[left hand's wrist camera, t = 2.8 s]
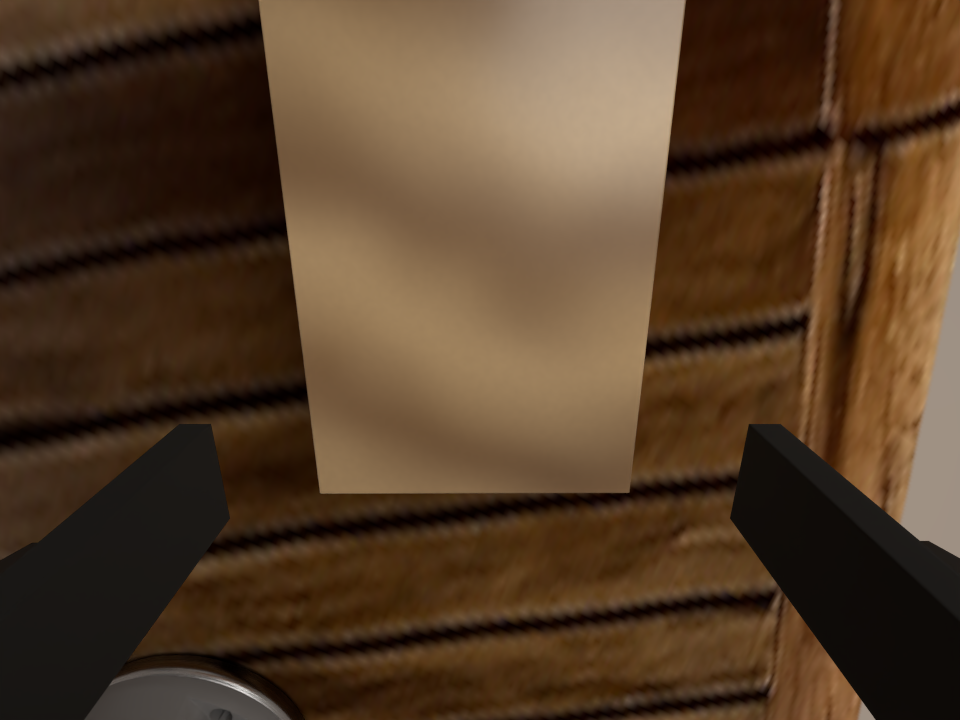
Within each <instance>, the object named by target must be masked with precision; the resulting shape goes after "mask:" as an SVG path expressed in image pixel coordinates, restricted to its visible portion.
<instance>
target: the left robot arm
mask: <svg viewBox="0 0 960 720" xmlns="http://www.w3.org/2000/svg"><path fill="white" fill-rule="evenodd" d="M229 519H230V517H229V512H228V507H227V502H226V497H225V492H224V487H223V482H222V477H221V472H220V467H219V462H218V457H217V452H216V447H215V442H214V437H213V432H212V427H211V424H179V425H178V426H177V427H176V428H174V429H173V430H172V431H171V432H170V433H168V434H167V435H166V436H165V437H164V438H162V439H161V440H160V441H159V442H158V443H156V444H155V445H154V446H153V447H152V448H151V449H149V450H148V451H147V452H146V453H145V454H143V455H142V456H141V457H140V458H139V459H137V460H136V461H135V462H134V463H133V464H131V465H130V466H129V467H128V468H127V469H125V470H124V471H123V472H122V473H121V474H119V475H118V476H117V477H116V478H115V479H114V480H112V481H111V482H110V483H109V484H108V485H106V486H105V487H104V488H103V489H102V490H100V491H99V492H98V493H97V494H96V495H94V496H93V497H92V498H91V499H90V500H88V501H87V502H86V503H85V504H84V505H83V506H81V507H80V508H79V509H78V510H77V511H75V512H74V513H73V514H72V515H71V516H69V517H68V518H67V519H66V520H65V521H63V522H62V523H61V524H60V525H59V526H57V527H56V528H55V529H54V530H53V531H51V532H50V533H49V534H48V535H47V536H46V537H44V538H43V539H42V540H41V541H40V542H38V543H31V544H29V545H27V546H26V547H24V548H22V549H20V550H18V551H17V552H15V553H13V554H11V555H9V556H8V557H6V558H4V559H2V560H0V720H304V718H303V716H302V715H301V713H300V712H299V710H298V709H297V707H296V706H295V705H294V704H293V702H292V701H291V700H290V699H289V698H288V697H287V696H286V695H285V694H284V693H283V692H282V691H280V690H279V689H278V688H277V687H275V686H274V685H273V684H271V683H270V682H268V681H267V680H265V679H264V678H262V677H260V676H258V675H257V674H255V673H253V672H251V671H248V670H246V669H244V668H242V667H239V666H236V665H233V664H230V663H227V662H224V661H220V660H216V659H212V658H206V657H200V656H191V655H162V656H154V657H149V658H144V659H140V660H136V661H133V662H130V663H128V664H125V663H126V661H127V660H128V659H129V657H130V656H131V654H132V653H133V652H134V650H135V649H136V648H137V646H138V645H139V643H140V642H141V641H142V639H143V638H144V636H145V635H146V634H147V632H148V631H149V630H150V628H151V627H152V625H153V624H154V623H155V621H156V620H157V618H158V617H159V616H160V614H161V613H162V612H163V610H164V609H165V607H166V606H167V605H168V603H169V602H170V600H171V599H172V598H173V596H174V595H175V594H176V592H177V591H178V589H179V588H180V587H181V585H182V584H183V582H184V581H185V580H186V578H187V577H188V576H189V574H190V573H191V571H192V570H193V569H194V567H195V566H196V565H197V563H198V562H199V560H200V559H201V558H202V556H203V555H204V553H205V552H206V551H207V549H208V548H209V547H210V545H211V544H212V542H213V541H214V540H215V538H216V537H217V535H218V534H219V533H220V531H221V530H222V529H223V527H224V526H225V524H226V523H227V522H228V520H229ZM730 519H731V520H732V522H733V523H734V524H735V526H736V527H737V529H738V530H739V531H740V533H741V534H742V535H743V537H744V538H745V540H746V541H747V542H748V544H749V545H750V547H751V548H752V549H753V551H754V552H755V553H756V555H757V556H758V558H759V559H760V560H761V562H762V563H763V565H764V566H765V567H766V569H767V570H768V571H769V573H770V574H771V576H772V577H773V578H774V580H775V581H776V582H777V584H778V585H779V587H780V588H781V589H782V591H783V592H784V594H785V595H786V596H787V598H788V599H789V600H790V602H791V603H792V605H793V606H794V607H795V609H796V610H797V612H798V613H799V614H800V616H801V617H802V618H803V620H804V621H805V623H806V624H807V625H808V627H809V628H810V630H811V631H812V632H813V634H814V635H815V636H816V638H817V639H818V641H819V642H820V643H821V645H822V646H823V648H824V649H825V650H826V652H827V653H828V654H829V656H830V657H831V659H832V660H833V661H834V663H835V664H836V665H837V667H838V668H839V670H840V671H841V672H842V674H843V675H844V677H845V678H846V679H847V681H848V682H849V683H850V685H851V686H852V688H853V689H854V690H855V692H856V693H857V695H858V696H859V697H860V699H861V700H862V701H863V703H864V704H865V706H866V707H867V708H868V710H869V711H870V713H871V714H872V715H873V717H874V718H875V719H876V720H960V558H958V557H956V556H955V555H953V554H951V553H949V552H947V551H946V550H944V549H942V548H940V547H938V546H937V545H935V544H933V543H931V542H929V541H919V540H918V539H917V538H916V537H914V536H913V535H912V534H911V533H910V532H908V531H907V530H906V529H905V528H904V527H903V526H901V525H900V524H899V523H898V522H897V521H895V520H894V519H893V518H892V517H891V516H889V515H888V514H887V513H886V512H885V511H883V510H882V509H881V508H880V507H879V506H877V505H876V504H875V503H874V502H873V501H872V500H870V499H869V498H868V497H867V496H866V495H864V494H863V493H862V492H861V491H860V490H858V489H857V488H856V487H855V486H854V485H852V484H851V483H850V482H849V481H848V480H846V479H845V478H844V477H843V476H842V475H841V474H839V473H838V472H837V471H836V470H835V469H833V468H832V467H831V466H830V465H829V464H827V463H826V462H825V461H824V460H823V459H821V458H820V457H819V456H818V455H817V454H815V453H814V452H813V451H812V450H811V449H809V448H808V447H807V446H806V445H805V444H804V443H802V442H801V441H800V440H799V439H798V438H796V437H795V436H794V435H793V434H792V433H790V432H789V431H788V430H787V429H786V428H784V427H783V426H782V425H781V424H749V427H748V432H747V437H746V442H745V447H744V452H743V457H742V462H741V467H740V472H739V477H738V482H737V487H736V492H735V497H734V502H733V507H732V512H731V517H730ZM124 664H125V665H124Z"/></svg>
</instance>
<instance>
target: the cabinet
mask: <svg viewBox="0 0 960 720" xmlns="http://www.w3.org/2000/svg"><path fill="white" fill-rule="evenodd" d="M258 1H259V9H260V17H261V25H262V33H263V41H264V49H265V57H266V65H267V73H268V81H269V89H270V97H271V105H272V113H273V121H274V129H275V137H276V145H277V153H278V161H279V169H280V177H281V185H282V193H283V201H284V209H285V217H286V225H287V233H288V241H289V249H290V257H291V265H292V273H293V281H294V289H295V297H296V305H297V313H298V321H299V329H300V337H301V345H302V353H303V361H304V369H305V377H306V385H307V393H308V401H309V409H310V417H311V425H312V433H313V442H314V450H315V458H316V466H317V474H318V482H319V490H320V493H321V494H373V493H629V490H630V481H631V472H632V463H633V455H634V446H635V437H636V429H637V420H638V411H639V403H640V394H641V385H642V377H643V368H644V359H645V351H646V342H647V333H648V324H649V316H650V307H651V298H652V290H653V281H654V272H655V264H656V255H657V246H658V238H659V229H660V220H661V212H662V203H663V194H664V186H665V177H666V168H667V159H668V151H669V142H670V133H671V125H672V116H673V107H674V99H675V90H676V81H677V73H678V64H679V55H680V47H681V38H682V29H683V20H684V12H685V3H686V0H258Z"/></svg>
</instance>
